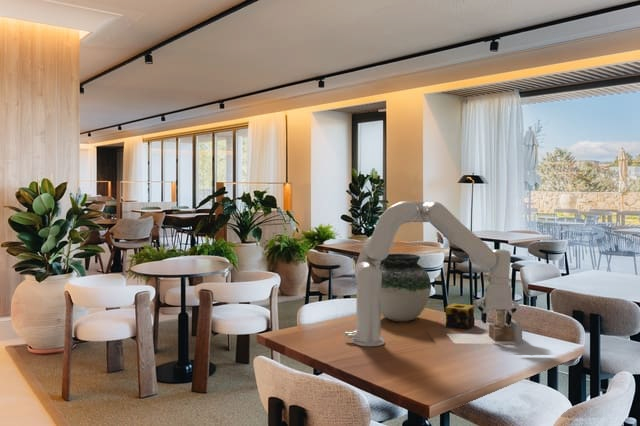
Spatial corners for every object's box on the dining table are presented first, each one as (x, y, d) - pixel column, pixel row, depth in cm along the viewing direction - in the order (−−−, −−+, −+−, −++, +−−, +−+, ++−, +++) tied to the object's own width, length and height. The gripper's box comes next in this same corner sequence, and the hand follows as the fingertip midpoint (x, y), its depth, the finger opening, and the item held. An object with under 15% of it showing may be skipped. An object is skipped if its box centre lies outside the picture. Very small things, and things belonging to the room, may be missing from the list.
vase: (416, 329, 224) (417, 261, 223) (359, 321, 240) (359, 256, 239) (439, 317, 248) (440, 254, 247) (386, 310, 264) (386, 251, 263)
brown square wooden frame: (494, 341, 203) (494, 328, 202) (488, 336, 210) (488, 324, 210) (513, 341, 202) (514, 328, 202) (507, 336, 210) (507, 324, 210)
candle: (475, 327, 228) (475, 305, 228) (468, 332, 220) (468, 309, 219) (452, 324, 233) (452, 302, 233) (445, 329, 225) (445, 306, 225)
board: (454, 345, 200) (454, 325, 199) (446, 336, 214) (446, 317, 213) (522, 346, 199) (522, 325, 199) (509, 336, 213) (509, 317, 213)
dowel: (497, 339, 205) (497, 309, 204) (495, 337, 208) (495, 308, 208) (505, 339, 205) (505, 309, 204) (503, 337, 208) (503, 308, 208)
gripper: (479, 280, 202) (476, 324, 202) (524, 283, 202) (521, 327, 202) (474, 277, 210) (471, 319, 210) (517, 280, 209) (514, 322, 210)
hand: (495, 323), depth 206 cm, fingers open, 9 cm apart
